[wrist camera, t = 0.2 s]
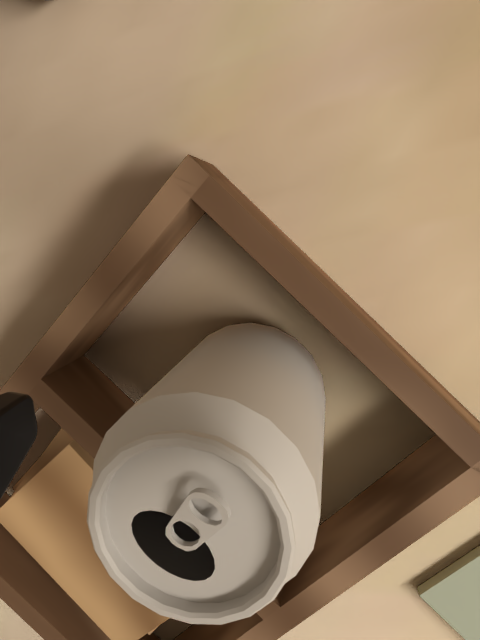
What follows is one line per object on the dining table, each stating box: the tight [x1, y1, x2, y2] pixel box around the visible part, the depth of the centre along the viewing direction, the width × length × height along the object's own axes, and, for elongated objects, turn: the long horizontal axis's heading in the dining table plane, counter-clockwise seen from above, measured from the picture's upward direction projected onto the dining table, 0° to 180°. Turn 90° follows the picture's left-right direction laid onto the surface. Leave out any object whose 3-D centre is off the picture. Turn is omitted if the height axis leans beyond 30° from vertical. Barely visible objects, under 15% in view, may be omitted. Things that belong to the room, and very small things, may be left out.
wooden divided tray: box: [0, 154, 480, 640], centre depth 24 cm, size 25×18×4 cm
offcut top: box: [0, 440, 170, 640], centre depth 25 cm, size 7×10×2 cm, turn 43°
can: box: [87, 323, 326, 625], centre depth 19 cm, size 8×8×12 cm
